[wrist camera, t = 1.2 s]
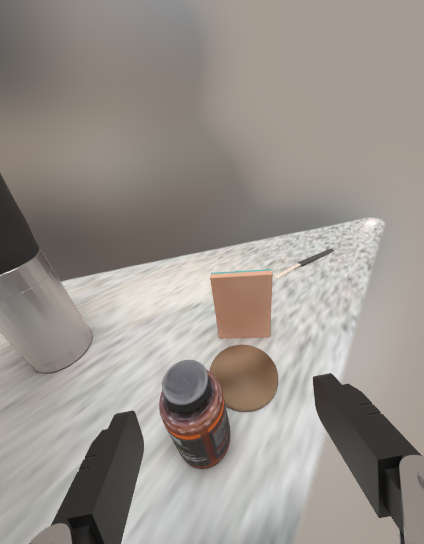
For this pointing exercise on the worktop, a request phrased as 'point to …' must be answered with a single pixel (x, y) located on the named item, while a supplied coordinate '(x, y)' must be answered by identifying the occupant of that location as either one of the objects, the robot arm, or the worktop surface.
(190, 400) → the supplement bottle
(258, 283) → the tile
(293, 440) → the worktop surface
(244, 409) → the coaster
